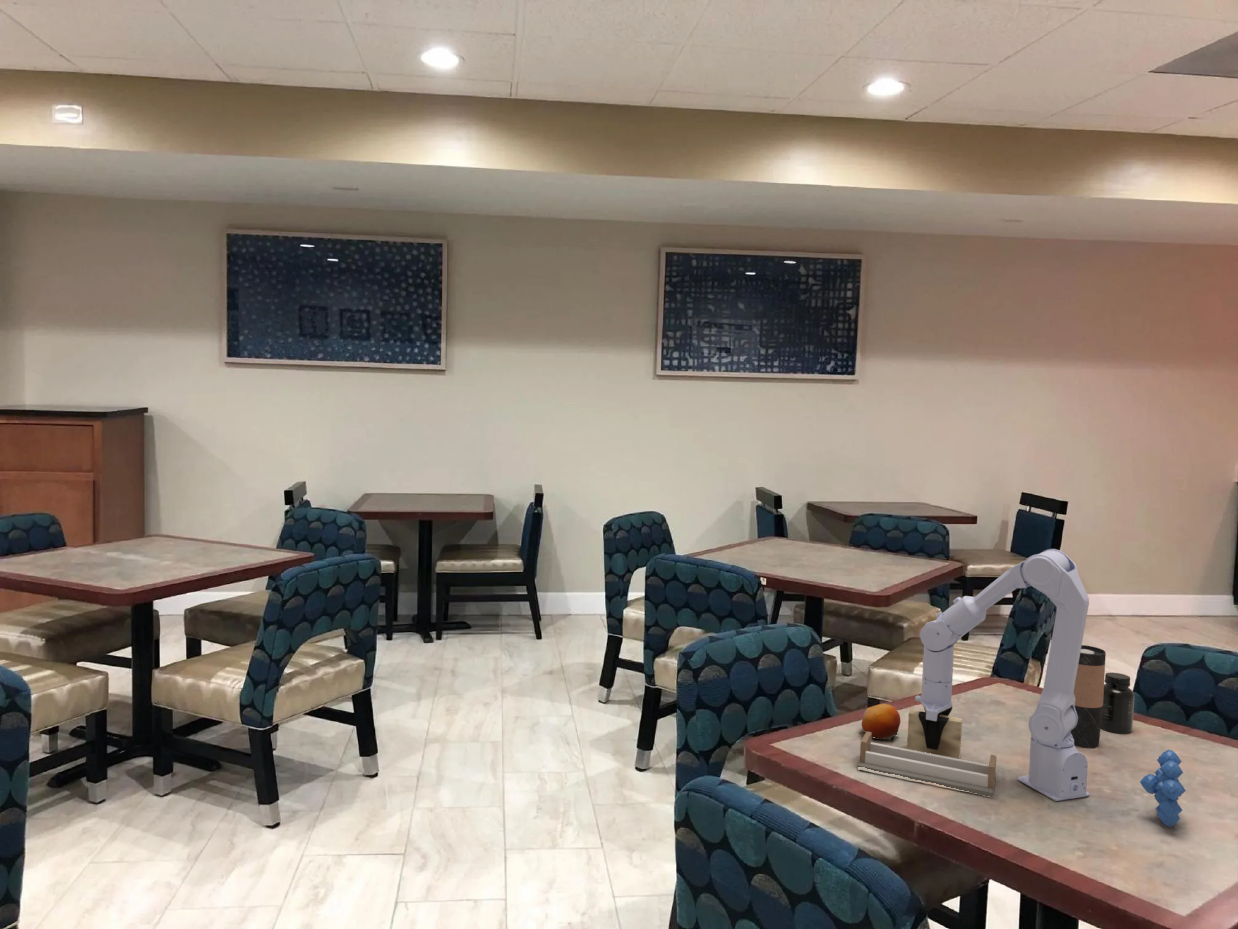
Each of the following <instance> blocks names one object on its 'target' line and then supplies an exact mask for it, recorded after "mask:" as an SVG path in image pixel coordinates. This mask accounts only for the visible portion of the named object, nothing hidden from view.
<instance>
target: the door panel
mask: <svg viewBox="0 0 1238 929" xmlns="http://www.w3.org/2000/svg"><path fill="white" fill-rule="evenodd" d="M919 711H921V712H923V711H922V710H915V709H910V710H909V712H908V721H907V722H908V723H907V742H906V749H910V750H916V751H920V752H926V753H931V754H936V755H941V756H946V757H951V758H957V759H961V748H962V733H963V732H962V731H963V718H961V717H956V716H950V715H948V716H945V715H940V714H939V715H940V717H946V718H949V719H948V722H947V723H946V725H945V727H944V729H943V731H942V735H941V740H940V744H939V747H938V750H934V749H928V748H927V747H926V742H925V735H924V730H923V727H922V724H921V722H920V720H919V717H918V714H919Z"/></svg>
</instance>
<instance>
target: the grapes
mask: <svg viewBox="0 0 1238 929" xmlns="http://www.w3.org/2000/svg"><path fill="white" fill-rule="evenodd" d="M1156 761H1157V763H1158V764H1159V767H1158V768H1157V769H1156V770H1155V771H1154V774H1155V775H1154V774H1151V773H1149V774H1147V775H1144V776H1143V778H1142V779H1141V780H1140V781H1139V783H1140V784H1141V786H1142V788H1143V790H1145V791H1146V793H1148V794H1152V795H1153V794H1154V795H1153V796H1154V799H1155V801H1156V802H1157V803H1158V806H1157V807H1155V810H1156V812H1157V814H1156V815H1157V816H1158V818H1159V819H1160V821H1161V822H1162V823H1163V824H1164V826H1166V827H1169V828H1170V827H1173V826H1175V825H1176V824H1177V823H1178V822H1179V821H1180V820H1181V818H1180V816H1179V815H1180V814H1181V813H1182V811H1183V809H1182V807H1181V805H1180V804H1179V802H1178V800H1179V797H1181V796H1182V795H1183V794H1184V793H1185V792H1186V789H1185V787H1184V785H1183V784H1182V783H1181V782H1180V780H1179V778H1180V776H1181V775H1182V774H1183V773H1184V772H1183V770H1182V769H1181V767H1180V764H1181V763H1182V760H1181V759H1180V757H1179V756H1178V754H1177V753H1176V752H1175V751H1174V750H1172V749H1167V750H1165V751H1163V752H1162V753H1161V754H1160V755H1159V756H1158V758H1157V759H1156Z"/></svg>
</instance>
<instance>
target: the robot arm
mask: <svg viewBox="0 0 1238 929" xmlns="http://www.w3.org/2000/svg"><path fill="white" fill-rule="evenodd" d="M1028 587H1033V588H1034V589H1036V590H1037V591H1039V592H1041V593H1042V594H1044V595H1045V596H1047V598H1048V599H1049V600H1050V601H1051V602H1052V603H1053V604H1054V606H1055V607H1056V612H1055V617H1054V622H1053V630H1052V635H1051V636H1052V637H1051V641H1050V646H1049V653H1048V659H1047V664H1046V670H1045V677H1044V682H1043V687H1042V688H1043V689H1042V691H1041V694H1040V696H1039V698H1038V701H1037V704H1036V709H1035V711H1034V712H1033V713H1032V714H1031V716H1029V720H1028V730H1029V731H1030V732H1029V733H1030V746H1029V747H1030V748H1029V749H1030V750H1029V762H1028V775H1022V776H1017V781H1019V782H1020V783H1022V784H1024V785H1026V786H1028V787H1030V788H1031V789H1034V790H1035V791H1037V792H1039V793H1041V794H1042V795H1044V796H1046V797H1048V798H1049V799H1051V800H1053V801H1055V802H1056V801H1057V802H1058V801H1059V802H1060V801H1065V800H1070V799H1071V800H1072V799H1077V798H1078V799H1079V798H1083V797H1089V796H1090V792H1088V791H1087V781H1088V780H1087V779H1088V767H1089V766H1088V759H1087V757H1086V756H1085V755H1084V754H1083V753H1082V752H1081V751H1080V750H1078V749H1077V746H1075V745H1074V739H1073V736H1072V734H1071V730H1072V729H1074V728H1075V726H1076V725H1077V722H1078V716H1077V713H1076V710H1075V699H1076V698H1075V695H1074V686H1075V680H1076V675H1077V669H1078V663H1079V658H1080V652H1081V646H1082V645H1083V640H1084V639H1083V638H1084V634H1085V630H1086V628H1085V627H1086V624H1087V623H1086V622H1087V617H1088V611H1089V606H1090V598H1089V595H1088V594H1087V591H1086V589H1085V586H1084V584H1083V582H1082V579H1081V577H1080V574H1079V571H1078V567H1077V564H1076V563H1075V562H1074V561H1073V560H1072V559H1071V558H1070V557H1069V556H1068V555H1067V554H1066V553H1064V552H1063V551H1062V550H1059V549H1056V548H1049V549H1046V550H1043V551H1042V552H1040V553H1037V554H1033V555H1031V556H1029V557H1027V558H1026V559H1025V560H1023V561H1020V562H1019V563H1017V564H1016V565H1014V566H1012V567H1009V568H1008V569H1007V570H1006V571H1005V572H1003V573H1002V574H1001V575H1000V576H998V577H997V578H996V579H995V580H994V581H992V582H991V583H990V584H989V585H988V586H986V587H985V588H984V589H982V590H981V591H980V592H979V593H978V594H977V595H976V596H969V595H964V596H962V597H960V596H958V597H956V598H955V599H953V600H952V602H953V604H952V605H951V606H950V607H948V608H947V609H946V610H944V611H943V612H942V611H940V612H938V613H937V614H936V615H935V617H936V619H935V620H932V621H928V622H926V623H925V624H924V625H923V627H922V628H921V630H920V633H919V636H920V637H919V638H920V641H921V644H922V645H923V658H922V659H923V660H922V679H921V693H920V694H921V695H916V696H915V698H914V701H915V702H918V703H920V704H921V705H922V707H923V710H924V711H922V710H918V711H919V714H918V717H919V720H920V722H921V724H922V727H923V730H924V735H925V742H926V747H927V748H928V749H934V750H938V747H939V744H940V740H941V735H942V731H943V729H944V727H945V725H946V723H947V722H948V719H949V718H946V717H940V715H945V716H950V713H951V712H952V710H953V701H952V697H953V696H952V693H953V673H954V651H955V650H954V649H955V648H954V646H955V645H956V643H958V641H959V639H960V638H962V637H963V636H964V635H967V633H969V632H970V631H971V630H972V629H975V628H976V627H977V626H979V625H980V624H981V623H983V622H984V621H985V620H986V618H987V610H988V609H989V608H990V607H992V606H993V605H995V604H997V603H998V602H999V601H1001V600H1002V599H1003V598H1005V597H1006V596H1008V595H1010V594H1011V593H1013V591H1015V590H1017V589H1026V588H1027V589H1028ZM921 711H922V712H921ZM939 714H940V715H939Z"/></svg>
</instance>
